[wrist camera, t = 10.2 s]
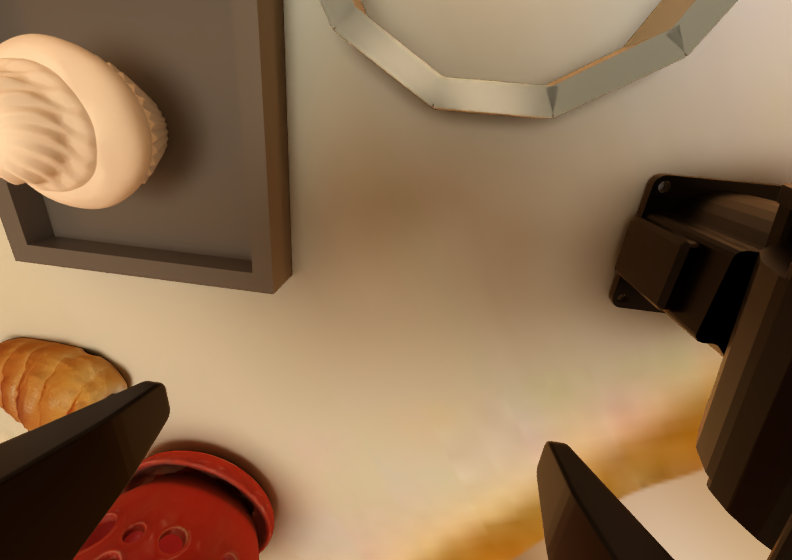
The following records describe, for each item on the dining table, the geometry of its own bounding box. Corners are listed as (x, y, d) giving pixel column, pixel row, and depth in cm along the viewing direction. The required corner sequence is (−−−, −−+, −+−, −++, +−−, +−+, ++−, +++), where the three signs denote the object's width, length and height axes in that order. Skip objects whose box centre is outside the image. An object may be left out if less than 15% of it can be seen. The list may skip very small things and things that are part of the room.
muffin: (50, 62, 17) (-189, 29, 10) (171, 39, 16) (-11, -14, 10) (108, 199, 19) (-59, 239, 13) (216, 186, 18) (94, 222, 12)
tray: (281, -41, 15) (253, -69, 13) (292, 274, 21) (273, 294, 19) (-31, -60, 16) (-109, -89, 14) (60, 245, 22) (15, 260, 20)
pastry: (9, 385, 28) (-54, 423, 24) (2, 311, 25) (-70, 341, 21) (131, 429, 28) (86, 473, 24) (137, 361, 25) (88, 399, 22)
